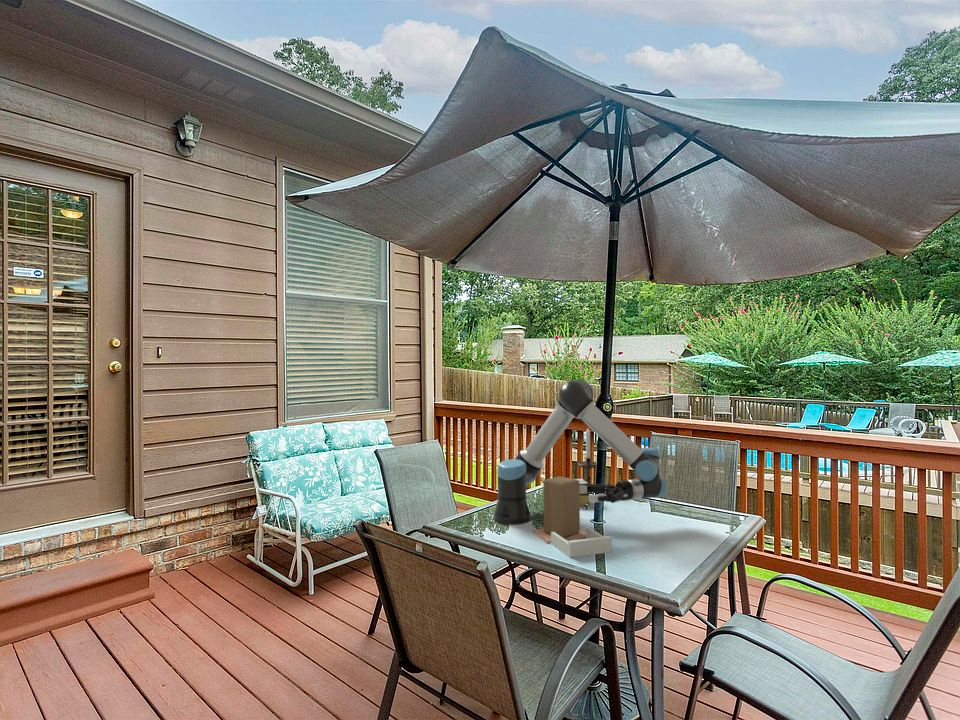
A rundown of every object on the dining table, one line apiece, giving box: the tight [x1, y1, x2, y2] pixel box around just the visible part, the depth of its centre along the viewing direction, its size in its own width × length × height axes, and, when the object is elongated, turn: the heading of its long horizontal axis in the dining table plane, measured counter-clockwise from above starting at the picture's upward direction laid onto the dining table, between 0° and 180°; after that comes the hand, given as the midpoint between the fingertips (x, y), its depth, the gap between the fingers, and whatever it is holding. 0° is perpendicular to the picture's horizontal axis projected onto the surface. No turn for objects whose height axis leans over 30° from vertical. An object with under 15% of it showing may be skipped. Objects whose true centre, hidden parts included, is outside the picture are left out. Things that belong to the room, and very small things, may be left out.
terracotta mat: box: [530, 527, 586, 544], centre depth 198 cm, size 18×14×1 cm
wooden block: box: [543, 475, 581, 538], centre depth 198 cm, size 10×10×20 cm
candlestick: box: [576, 424, 597, 495], centre depth 260 cm, size 11×11×35 cm
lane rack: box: [550, 527, 612, 558], centre depth 184 cm, size 14×15×5 cm
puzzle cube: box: [575, 478, 589, 505], centre depth 242 cm, size 10×10×10 cm
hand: (580, 494), depth 201 cm, fingers open, 13 cm apart
